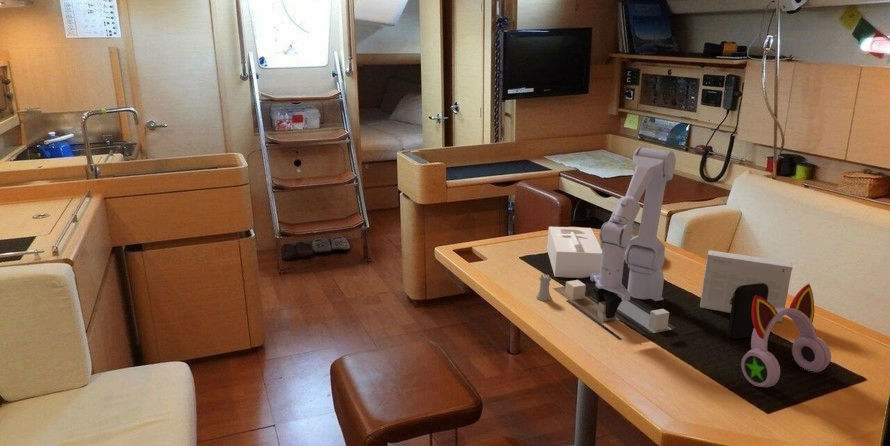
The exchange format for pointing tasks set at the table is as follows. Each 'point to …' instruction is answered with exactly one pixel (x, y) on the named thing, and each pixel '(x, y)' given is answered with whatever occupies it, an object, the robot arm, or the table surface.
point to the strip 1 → (590, 307)
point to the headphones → (805, 348)
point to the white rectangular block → (573, 252)
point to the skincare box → (742, 279)
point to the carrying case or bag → (744, 309)
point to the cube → (575, 289)
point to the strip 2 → (646, 317)
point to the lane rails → (619, 318)
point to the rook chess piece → (544, 288)
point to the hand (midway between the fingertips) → (606, 315)
